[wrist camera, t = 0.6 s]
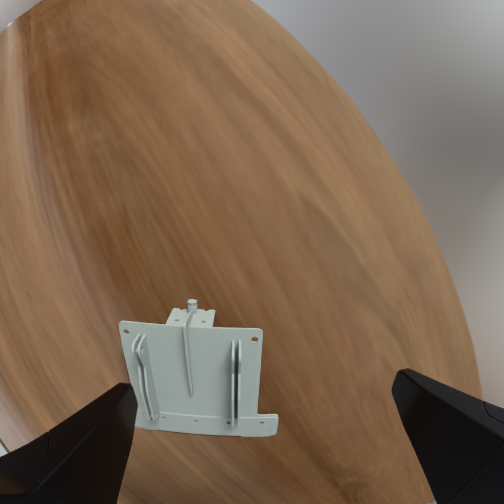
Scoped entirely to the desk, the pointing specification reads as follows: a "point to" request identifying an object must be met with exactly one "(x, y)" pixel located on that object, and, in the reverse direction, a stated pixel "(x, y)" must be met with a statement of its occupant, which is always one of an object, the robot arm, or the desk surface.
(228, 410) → the metal bracket
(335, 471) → the desk surface
